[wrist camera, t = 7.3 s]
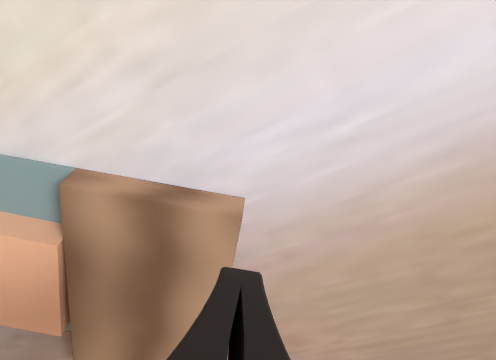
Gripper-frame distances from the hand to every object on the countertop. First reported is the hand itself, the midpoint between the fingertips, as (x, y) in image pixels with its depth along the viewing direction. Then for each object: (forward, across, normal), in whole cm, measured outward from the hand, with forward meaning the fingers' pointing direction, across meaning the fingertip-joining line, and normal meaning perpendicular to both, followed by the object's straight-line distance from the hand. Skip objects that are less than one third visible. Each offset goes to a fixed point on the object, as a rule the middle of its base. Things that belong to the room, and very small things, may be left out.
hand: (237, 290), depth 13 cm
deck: (+9, +5, +10) cm, 15 cm away
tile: (+9, +13, +10) cm, 19 cm away
